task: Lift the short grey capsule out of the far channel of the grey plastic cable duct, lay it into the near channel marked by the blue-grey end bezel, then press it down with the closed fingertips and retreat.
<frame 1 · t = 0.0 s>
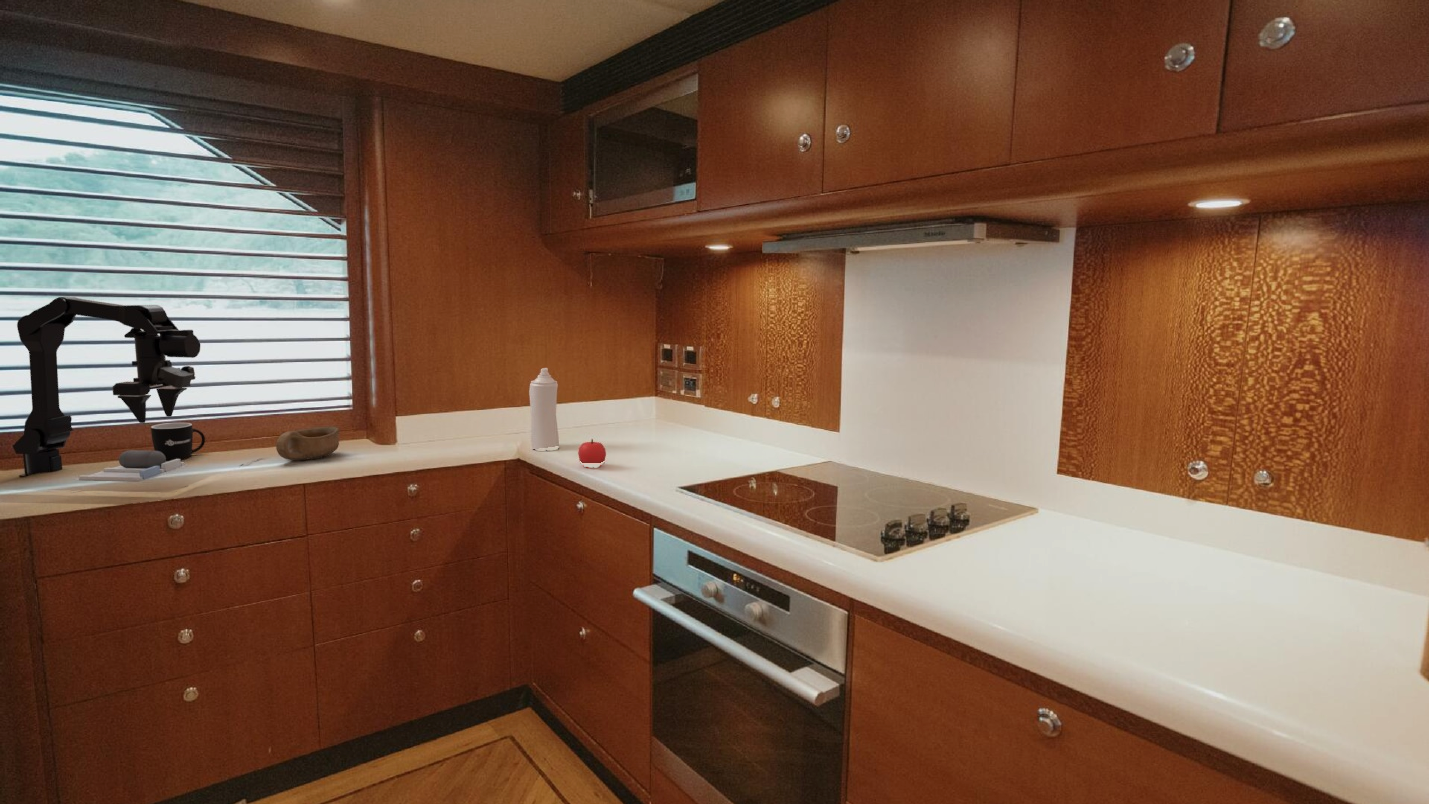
hand: (156, 419, 181), 15 cm above the counter, fingers open, 9 cm apart
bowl: (308, 459, 207), on the counter
spray can: (544, 447, 231), on the counter
mug: (181, 462, 200), on the counter
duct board: (134, 476, 183), on the counter
apple: (592, 467, 208), on the counter
grey capsule: (143, 468, 186), point 1 cm above the counter, touching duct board
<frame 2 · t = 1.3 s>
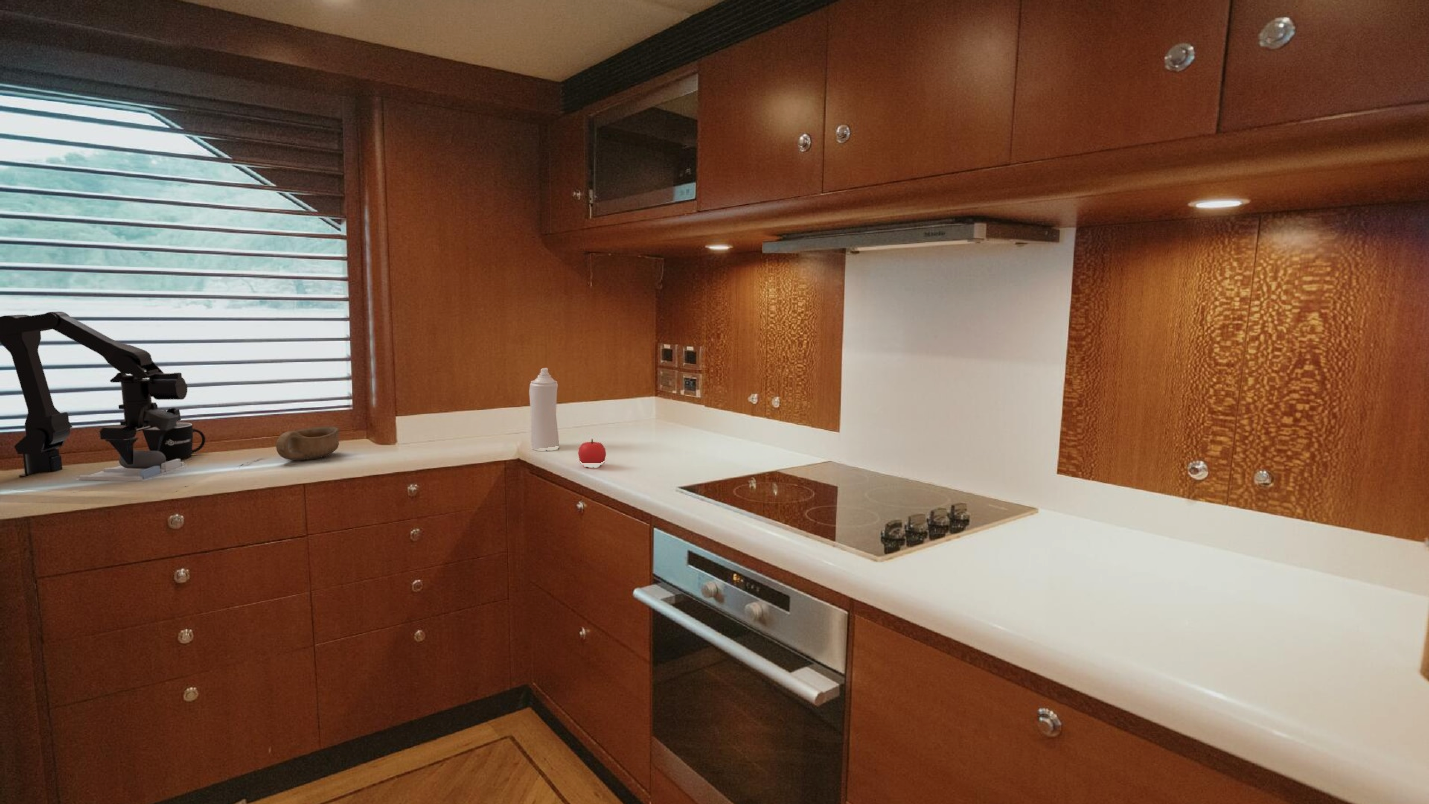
hand: (142, 460, 186), 3 cm above the counter, fingers open, 8 cm apart
mug: (181, 461, 200), on the counter, touching gripper
everything else where it was.
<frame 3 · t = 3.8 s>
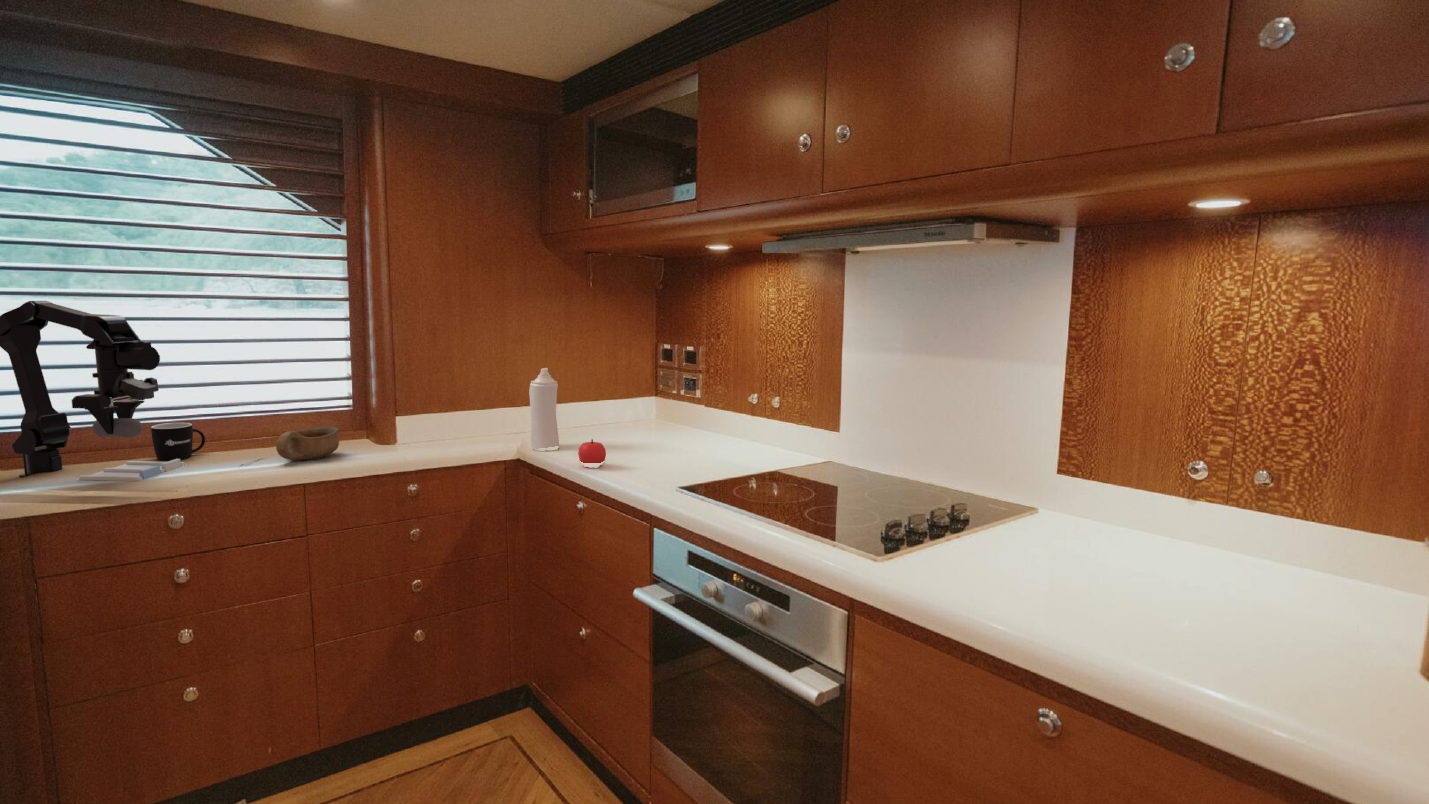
hand: (117, 432, 178), 12 cm above the counter, fingers closed on grey capsule, 5 cm apart
mug: (181, 461, 200), on the counter
grey capsule: (118, 436, 178), point 11 cm above the counter, touching gripper
everything else where it was.
when the fingers open (4 cm above the counter, at t = 5.6 s): grey capsule drops 1 cm, resting on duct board.
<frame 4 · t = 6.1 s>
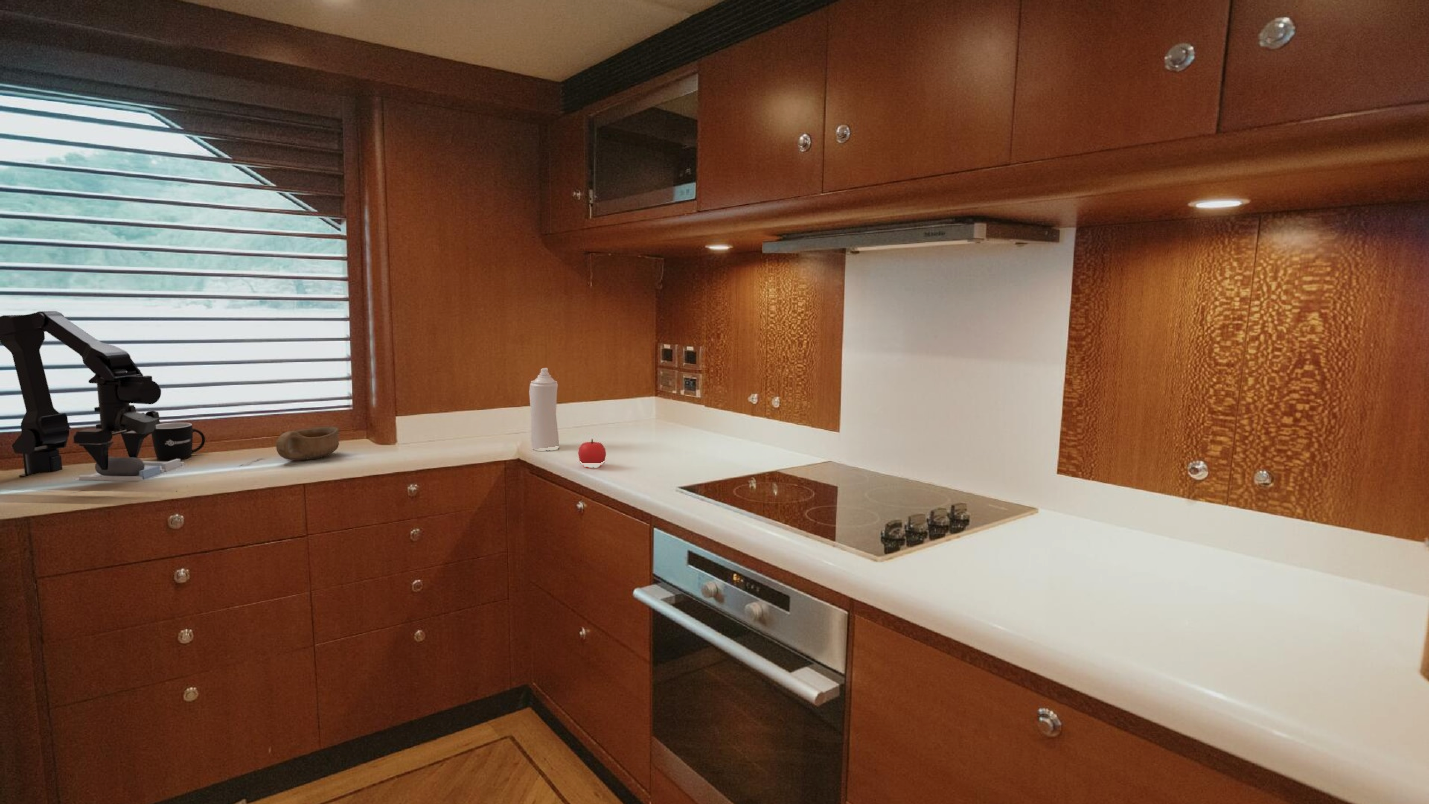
hand: (119, 465, 179), 4 cm above the counter, fingers open, 9 cm apart
grey capsule: (120, 475, 179), point 1 cm above the counter, touching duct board
everything else where it was.
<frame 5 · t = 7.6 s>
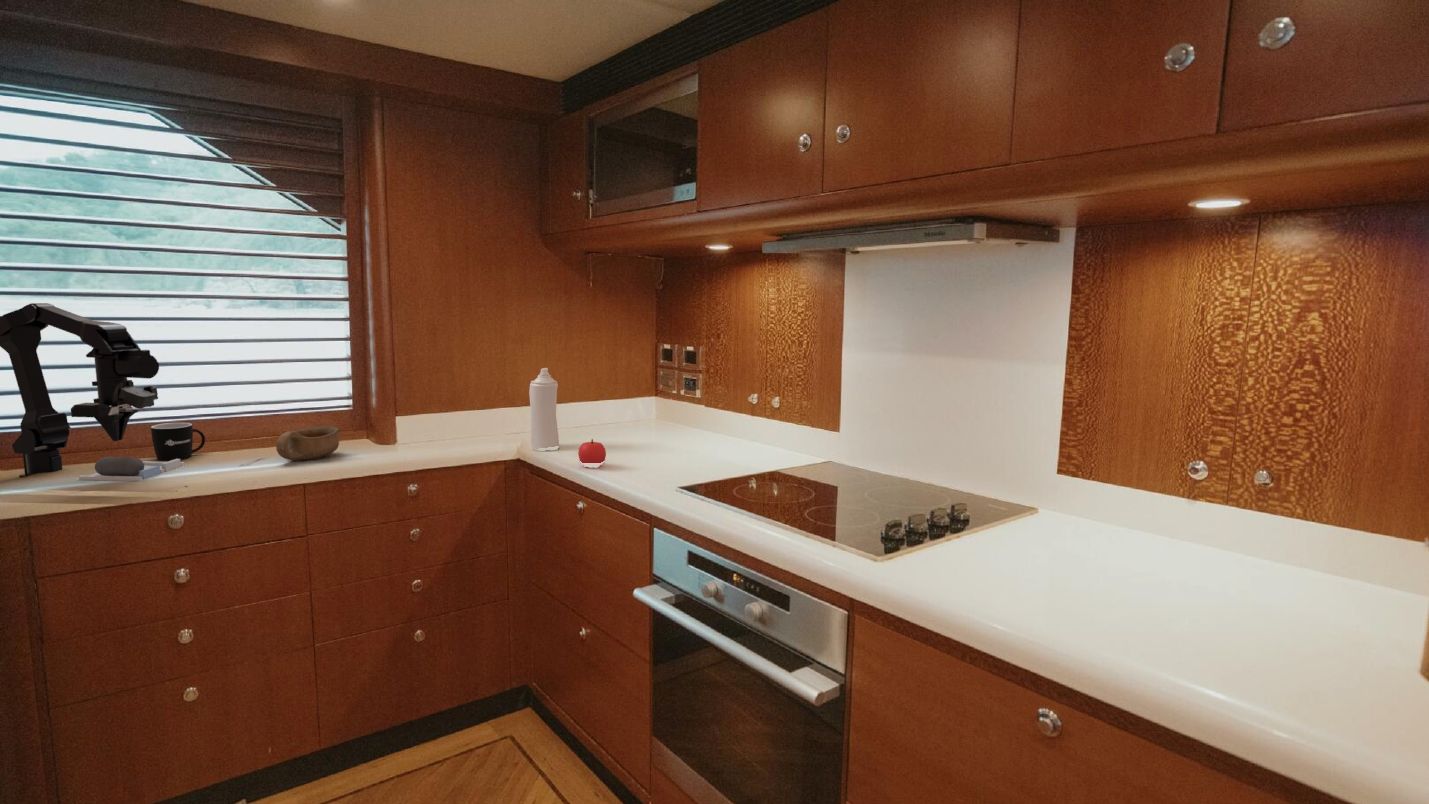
hand: (117, 440, 178), 10 cm above the counter, fingers closed
nothing on the counter moved.
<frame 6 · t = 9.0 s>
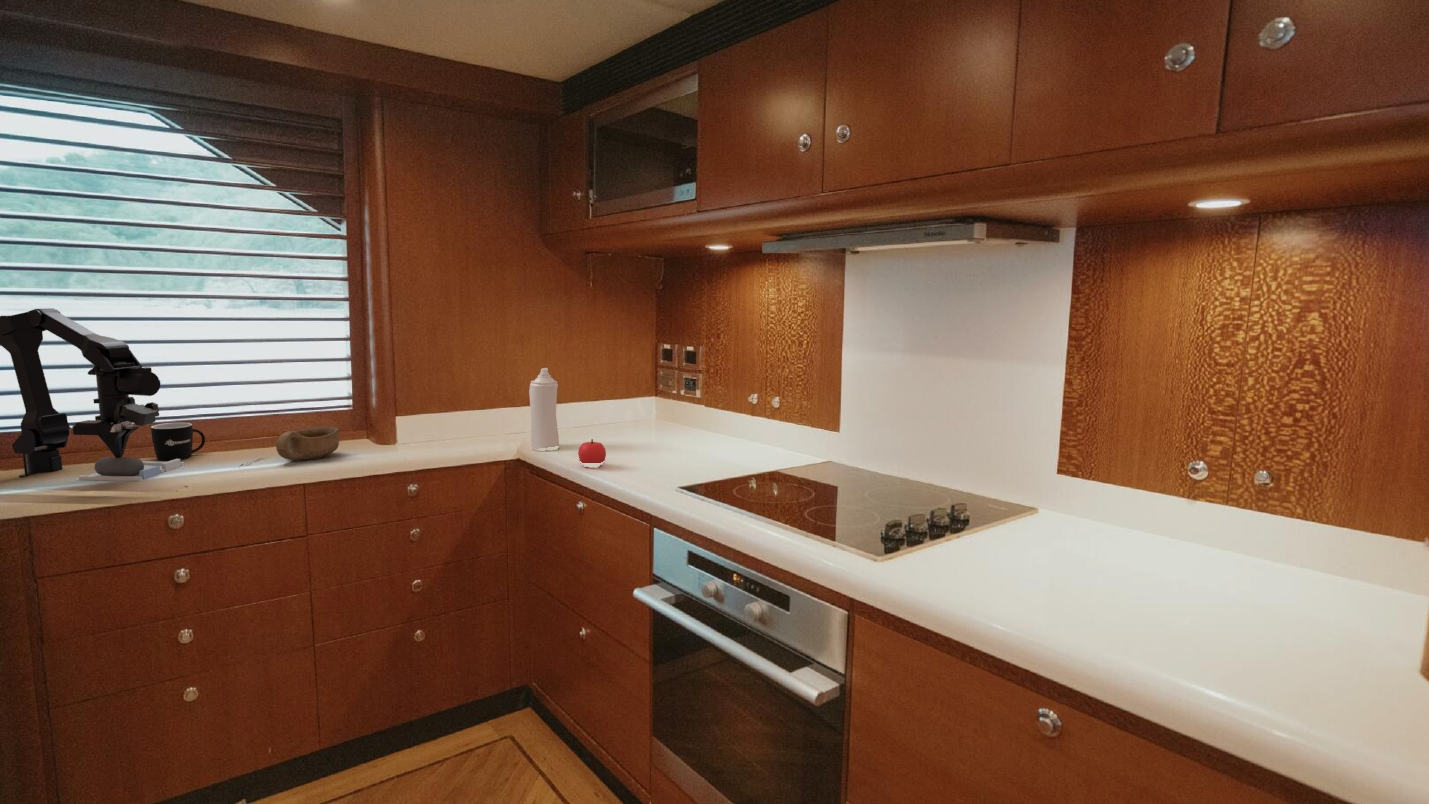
hand: (119, 457, 178), 6 cm above the counter, fingers closed
nothing on the counter moved.
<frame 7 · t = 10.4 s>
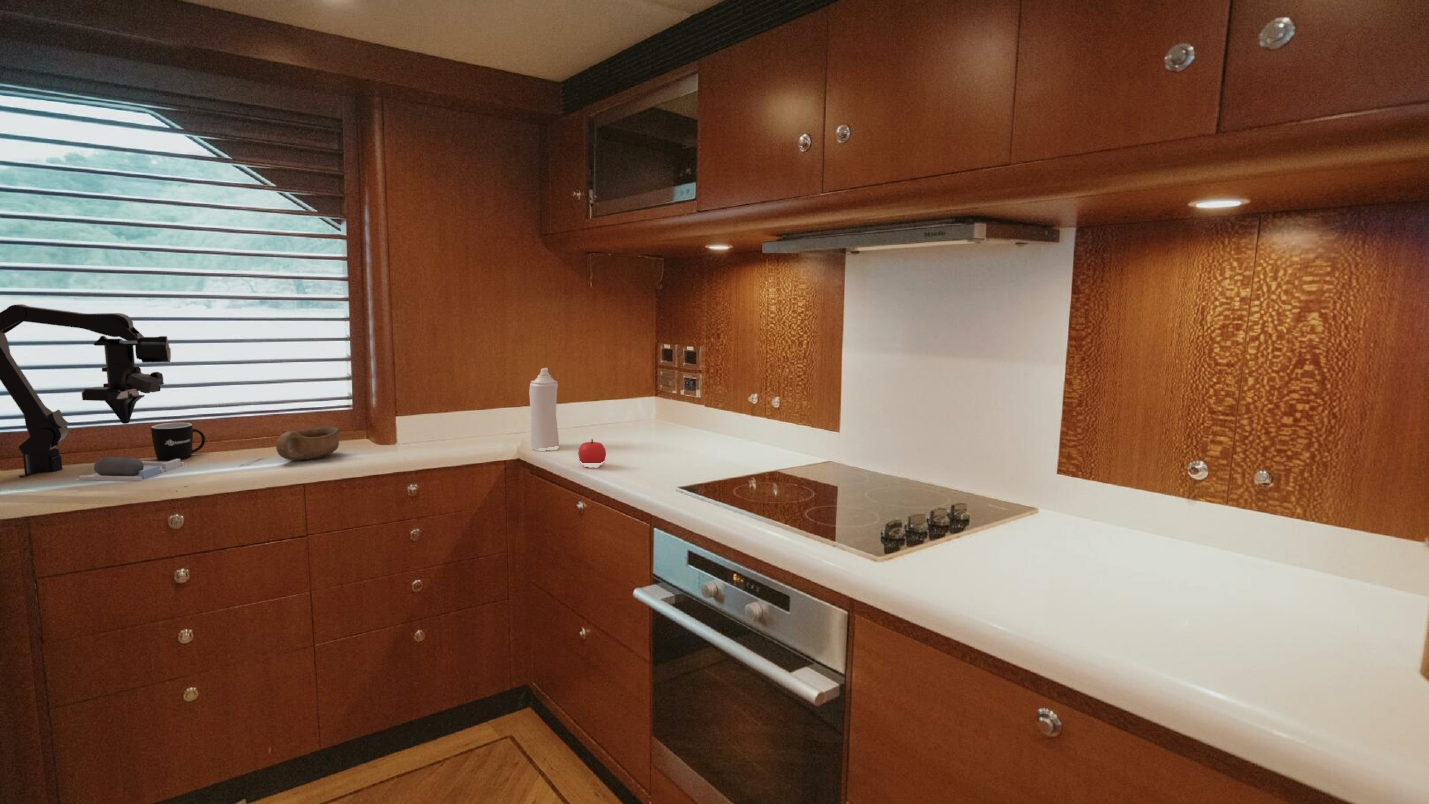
hand: (125, 423, 188), 12 cm above the counter, fingers closed
nothing on the counter moved.
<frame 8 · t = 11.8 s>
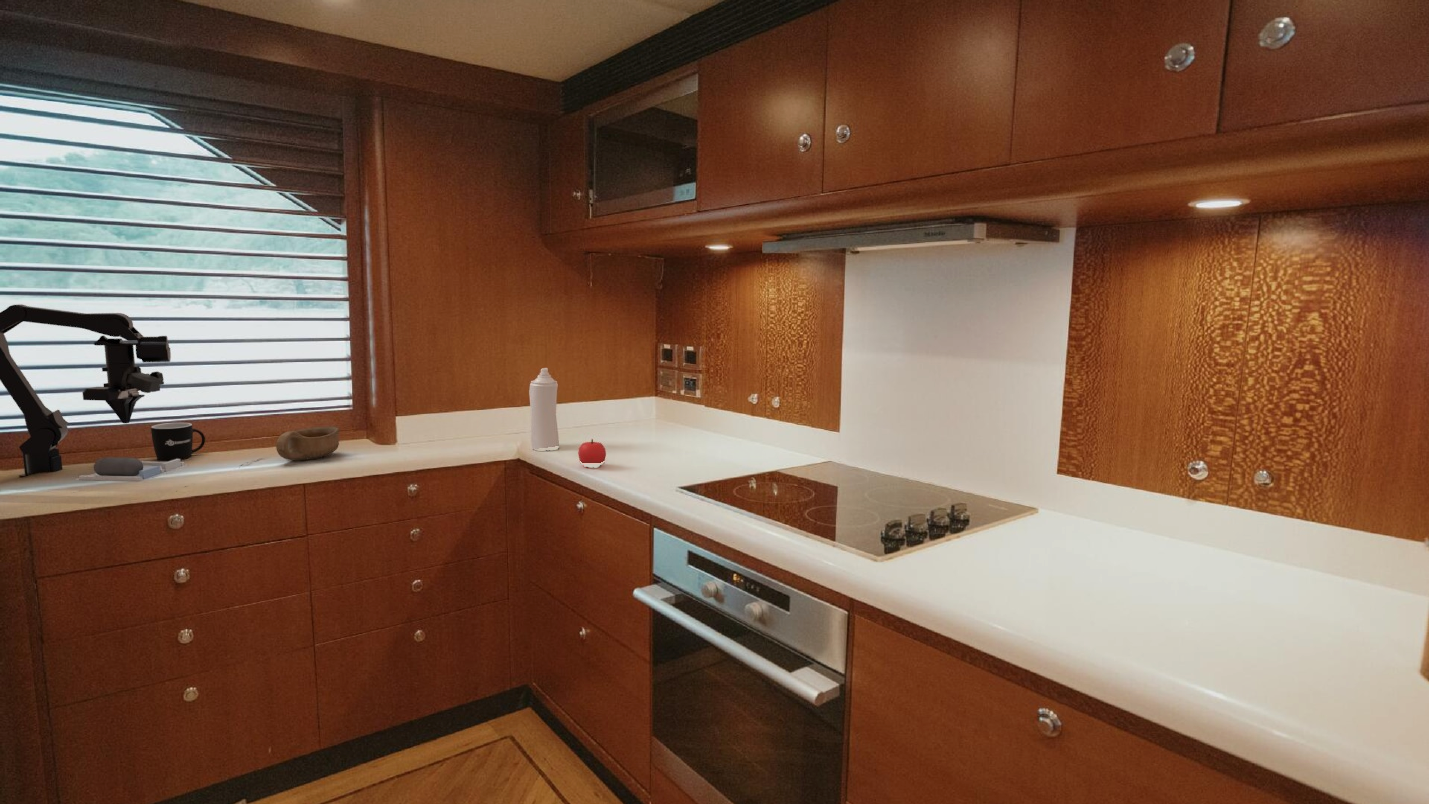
hand: (126, 423, 189), 12 cm above the counter, fingers closed
nothing on the counter moved.
at the end: grey capsule inside the target area on the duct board (0.5 cm from its centre), point 1.2 cm above the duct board's base; the gripper is holding nothing; grey capsule moved 7.5 cm from its start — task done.
